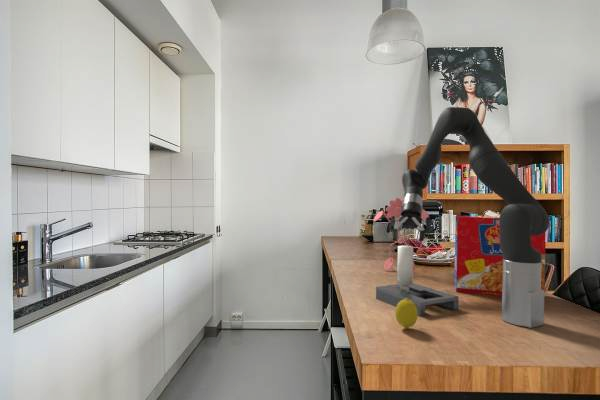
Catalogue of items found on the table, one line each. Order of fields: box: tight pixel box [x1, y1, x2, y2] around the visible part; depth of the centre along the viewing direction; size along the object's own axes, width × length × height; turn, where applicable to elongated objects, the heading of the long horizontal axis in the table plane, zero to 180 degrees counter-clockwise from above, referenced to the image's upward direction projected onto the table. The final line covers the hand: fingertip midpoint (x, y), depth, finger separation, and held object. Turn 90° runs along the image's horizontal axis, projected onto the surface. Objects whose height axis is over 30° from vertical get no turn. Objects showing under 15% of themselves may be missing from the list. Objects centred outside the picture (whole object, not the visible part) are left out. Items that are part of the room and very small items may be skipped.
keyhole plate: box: [375, 282, 459, 317], centre depth 116 cm, size 20×16×4 cm
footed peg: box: [396, 245, 414, 295], centre depth 120 cm, size 6×6×18 cm
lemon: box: [395, 298, 418, 330], centre depth 93 cm, size 6×6×8 cm
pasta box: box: [453, 215, 547, 297], centre depth 131 cm, size 28×8×28 cm, turn 72°
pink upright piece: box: [373, 197, 430, 278], centre depth 164 cm, size 15×26×35 cm, turn 62°
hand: (407, 240), depth 127 cm, fingers open, 8 cm apart
